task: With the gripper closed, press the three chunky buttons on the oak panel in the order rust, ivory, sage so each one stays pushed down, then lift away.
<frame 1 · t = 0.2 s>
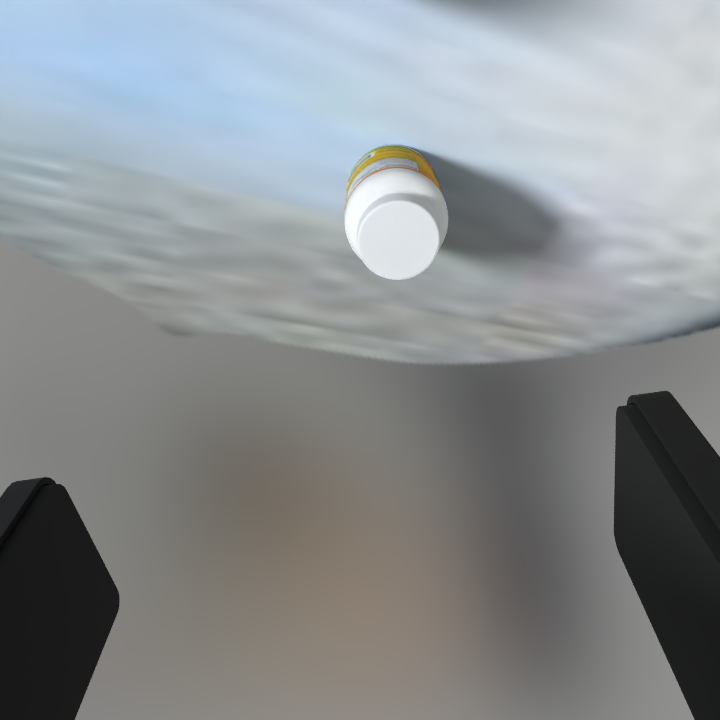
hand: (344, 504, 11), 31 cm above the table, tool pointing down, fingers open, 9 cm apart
supplement bottle: (391, 187, 40), on the table
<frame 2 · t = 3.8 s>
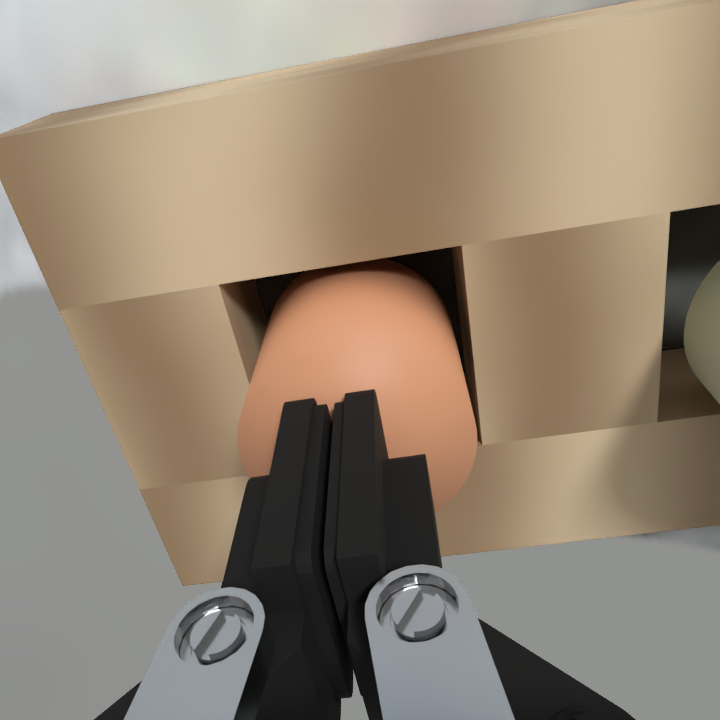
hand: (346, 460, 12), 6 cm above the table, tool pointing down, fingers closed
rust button: (358, 388, 14), point 4 cm above the table, slide at 1.6 cm, touching gripper
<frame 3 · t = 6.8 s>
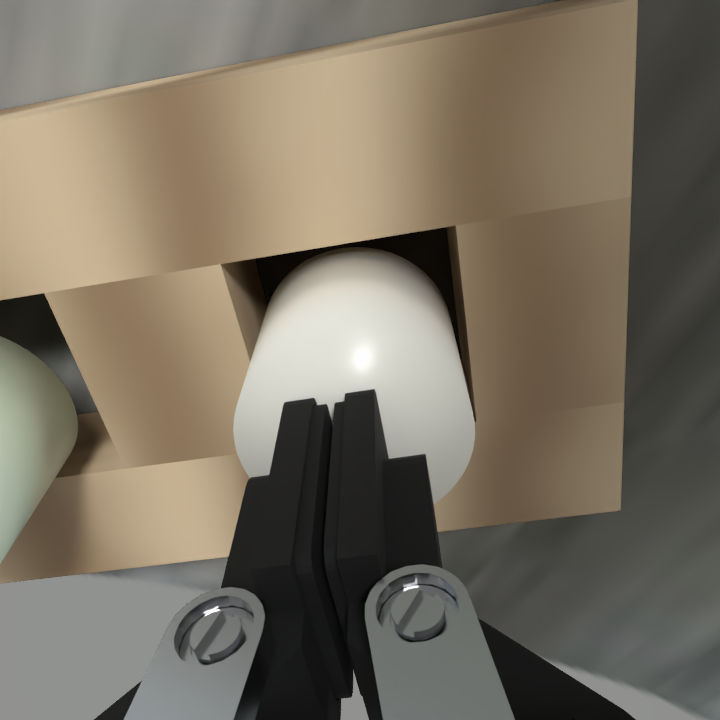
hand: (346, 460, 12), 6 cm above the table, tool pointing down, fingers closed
oak panel: (43, 342, 18), on the table
ivory button: (356, 380, 14), point 4 cm above the table, slide at 0.9 cm, touching gripper
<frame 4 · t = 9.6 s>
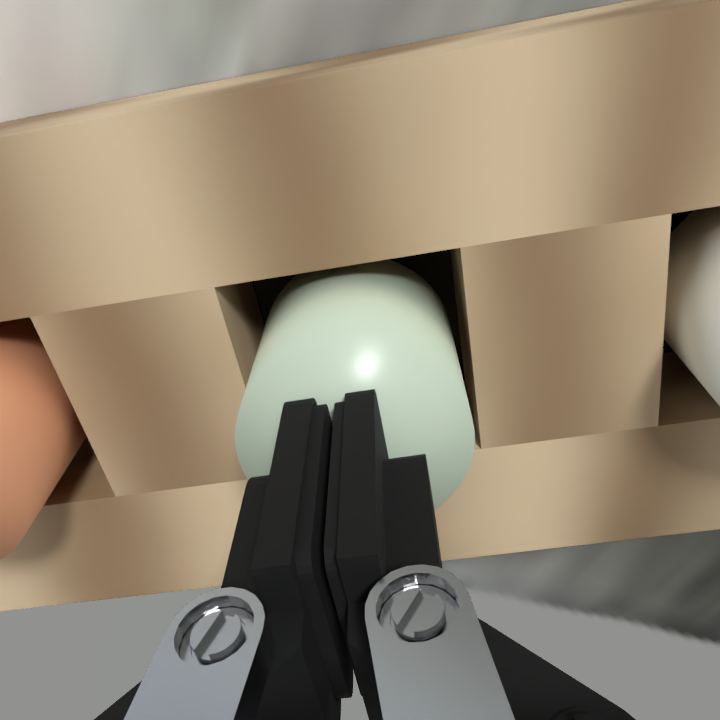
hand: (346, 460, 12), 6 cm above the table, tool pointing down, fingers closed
oak panel: (359, 313, 17), on the table
sage button: (356, 387, 14), point 4 cm above the table, slide at 1.7 cm, touching gripper
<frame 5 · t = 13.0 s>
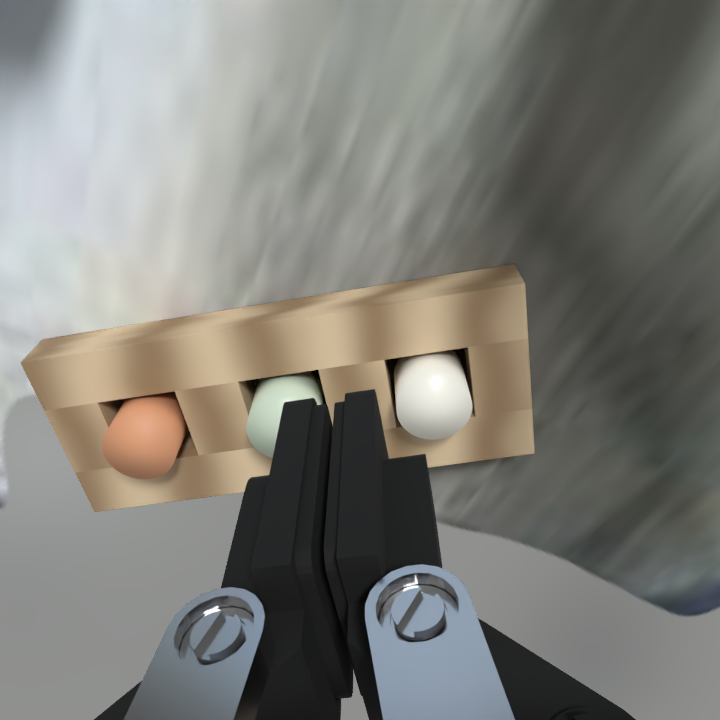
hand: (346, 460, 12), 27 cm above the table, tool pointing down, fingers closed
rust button: (148, 431, 41), point 3 cm above the table, slide at 2.1 cm
oak panel: (292, 384, 43), on the table
sage button: (286, 411, 40), point 3 cm above the table, slide at 2.1 cm
ivory button: (431, 390, 39), point 3 cm above the table, slide at 2.1 cm
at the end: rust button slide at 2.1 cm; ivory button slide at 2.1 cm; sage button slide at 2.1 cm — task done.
